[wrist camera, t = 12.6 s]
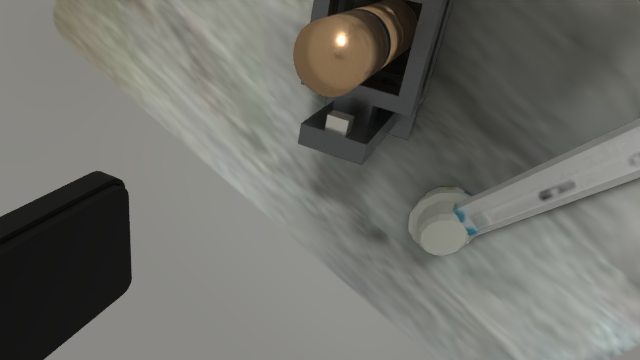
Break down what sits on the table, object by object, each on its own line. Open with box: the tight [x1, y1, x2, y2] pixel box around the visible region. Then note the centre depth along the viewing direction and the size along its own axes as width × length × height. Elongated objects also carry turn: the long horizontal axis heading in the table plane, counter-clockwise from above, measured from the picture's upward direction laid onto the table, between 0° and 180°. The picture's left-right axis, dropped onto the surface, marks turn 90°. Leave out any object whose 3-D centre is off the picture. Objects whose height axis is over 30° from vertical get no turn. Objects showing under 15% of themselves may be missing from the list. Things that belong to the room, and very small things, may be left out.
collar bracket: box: [298, 0, 453, 165], centre depth 35 cm, size 9×13×10 cm
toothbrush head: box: [408, 118, 640, 256], centre depth 36 cm, size 5×7×25 cm
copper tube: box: [293, 0, 418, 97], centre depth 32 cm, size 4×4×14 cm
